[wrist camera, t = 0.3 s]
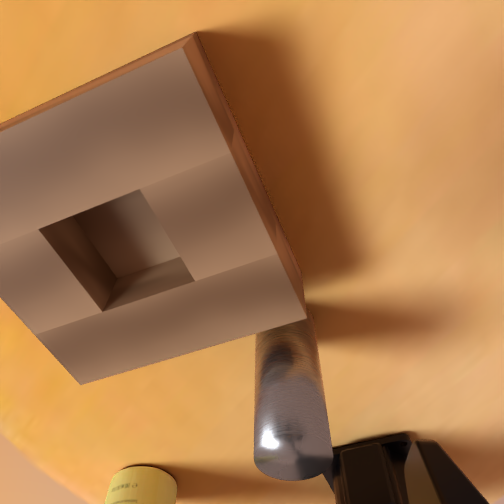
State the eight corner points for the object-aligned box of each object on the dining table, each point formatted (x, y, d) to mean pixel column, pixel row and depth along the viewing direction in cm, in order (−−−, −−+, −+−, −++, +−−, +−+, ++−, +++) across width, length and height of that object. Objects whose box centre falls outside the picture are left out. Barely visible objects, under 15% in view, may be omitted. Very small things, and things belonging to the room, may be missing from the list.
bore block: (301, 272, 23) (307, 318, 20) (101, 336, 26) (80, 385, 23) (195, 31, 17) (182, 47, 14) (-51, 147, 20) (-106, 181, 17)
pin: (321, 335, 25) (343, 471, 19) (268, 350, 26) (271, 486, 19) (302, 294, 24) (319, 426, 17) (247, 311, 25) (241, 444, 18)
